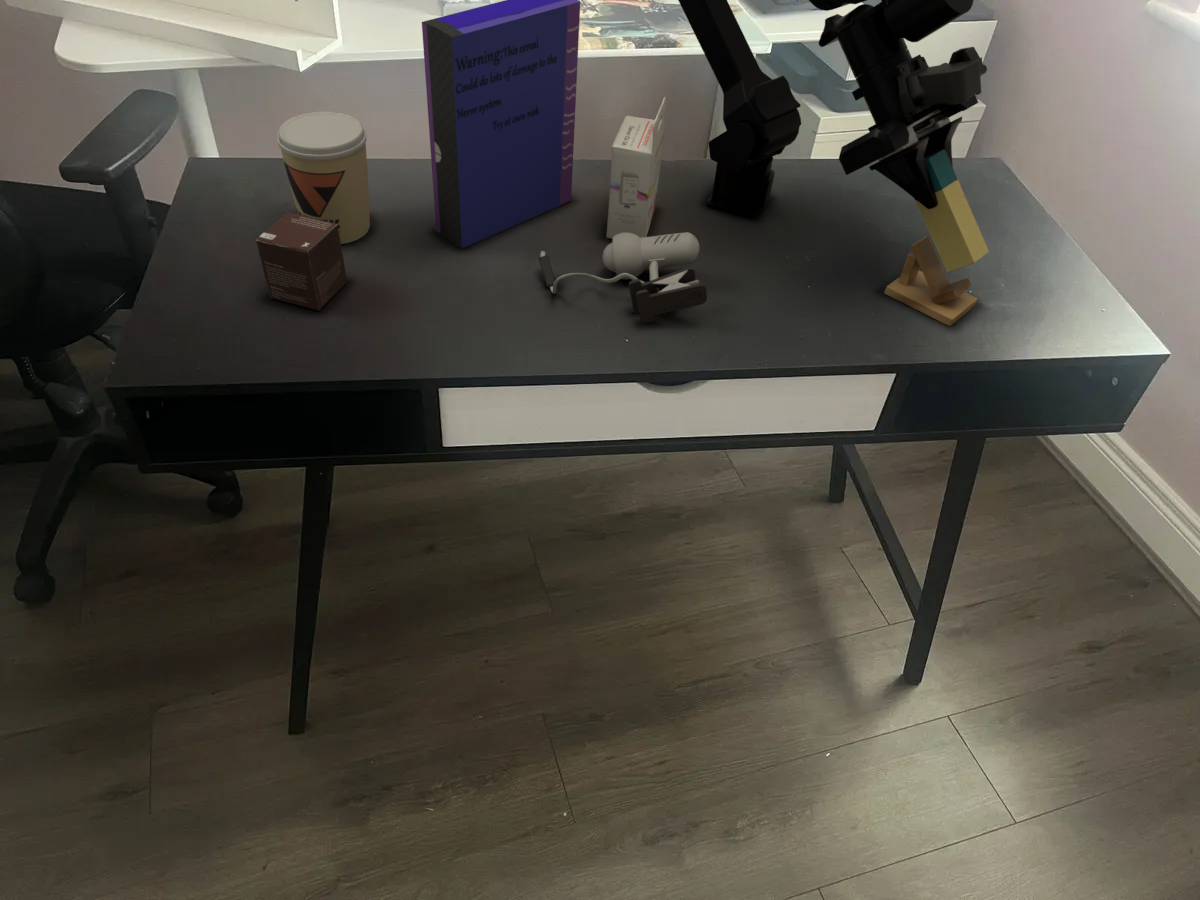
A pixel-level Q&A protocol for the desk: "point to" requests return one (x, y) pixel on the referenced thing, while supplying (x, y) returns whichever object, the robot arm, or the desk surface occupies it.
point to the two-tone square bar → (951, 217)
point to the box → (302, 260)
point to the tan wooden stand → (930, 286)
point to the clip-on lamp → (649, 253)
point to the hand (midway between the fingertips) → (941, 201)
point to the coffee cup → (328, 170)
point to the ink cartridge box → (635, 174)
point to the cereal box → (501, 114)
